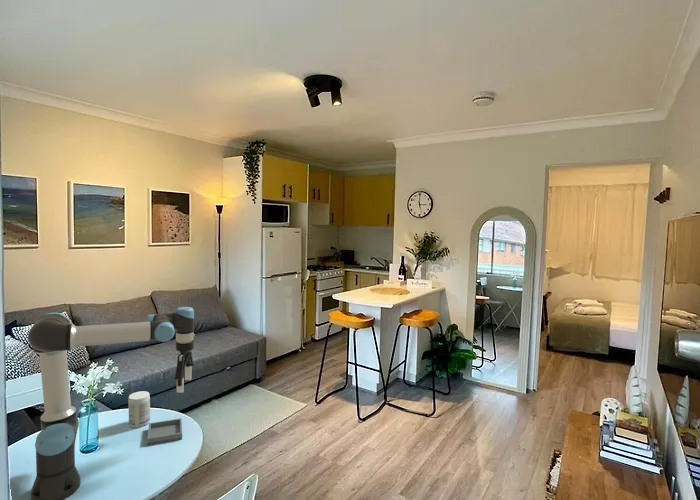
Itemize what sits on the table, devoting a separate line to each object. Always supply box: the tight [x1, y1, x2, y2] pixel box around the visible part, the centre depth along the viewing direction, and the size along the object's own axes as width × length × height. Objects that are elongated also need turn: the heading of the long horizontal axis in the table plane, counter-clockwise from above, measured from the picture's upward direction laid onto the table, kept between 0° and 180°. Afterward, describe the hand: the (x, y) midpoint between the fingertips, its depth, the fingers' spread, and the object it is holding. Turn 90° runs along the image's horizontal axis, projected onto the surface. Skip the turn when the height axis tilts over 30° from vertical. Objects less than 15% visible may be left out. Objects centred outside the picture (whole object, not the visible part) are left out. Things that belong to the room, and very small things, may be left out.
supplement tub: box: [127, 390, 151, 428], centre depth 199 cm, size 10×10×15 cm
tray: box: [146, 417, 183, 446], centre depth 191 cm, size 15×15×3 cm
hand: (184, 385), depth 183 cm, fingers open, 13 cm apart
